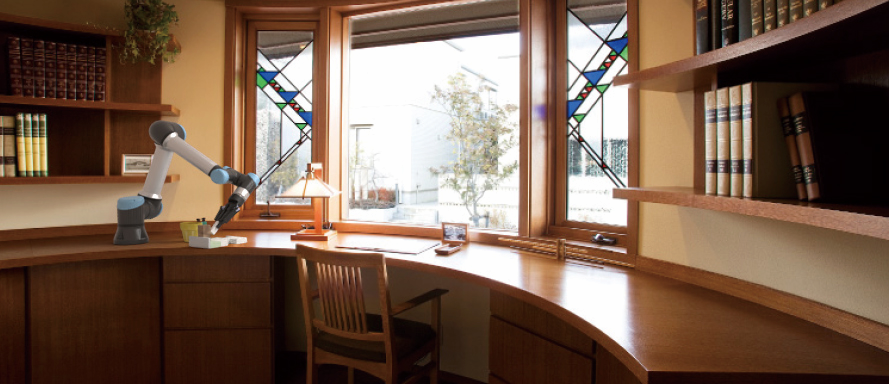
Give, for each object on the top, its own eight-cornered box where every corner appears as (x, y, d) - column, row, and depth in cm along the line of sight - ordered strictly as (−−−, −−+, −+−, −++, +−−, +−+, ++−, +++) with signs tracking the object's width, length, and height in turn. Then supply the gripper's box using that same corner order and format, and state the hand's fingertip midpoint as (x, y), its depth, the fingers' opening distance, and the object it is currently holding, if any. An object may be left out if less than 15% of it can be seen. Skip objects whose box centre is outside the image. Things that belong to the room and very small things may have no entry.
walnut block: (205, 240, 248) (204, 224, 247) (210, 241, 246) (210, 225, 246) (197, 241, 244) (197, 225, 244) (203, 242, 242) (203, 225, 242)
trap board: (227, 240, 266) (227, 231, 266) (247, 242, 260) (246, 232, 260) (189, 246, 246) (188, 236, 245) (208, 248, 239) (208, 238, 239)
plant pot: (206, 240, 267) (206, 221, 266) (195, 243, 256) (194, 224, 256) (188, 239, 268) (187, 221, 267) (175, 242, 257) (175, 223, 257)
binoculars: (193, 218, 285) (209, 216, 283) (195, 236, 285) (211, 235, 284) (183, 219, 276) (199, 218, 274) (185, 238, 276) (201, 237, 275)
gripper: (251, 203, 262) (225, 238, 248) (233, 202, 268) (207, 236, 254) (243, 193, 257) (215, 228, 243) (225, 192, 263) (197, 227, 249)
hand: (211, 232), depth 249 cm, fingers closed
